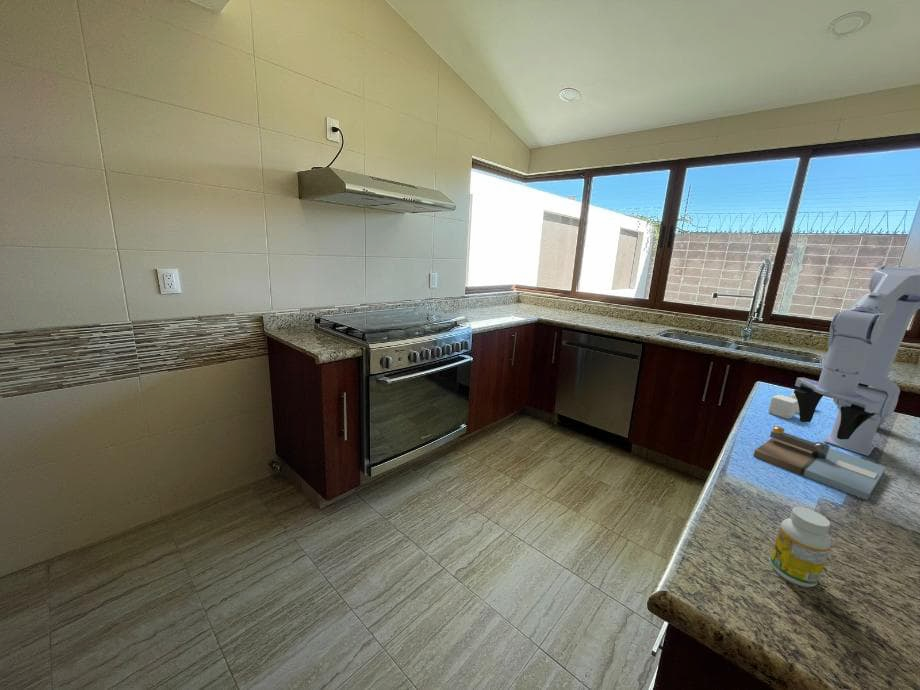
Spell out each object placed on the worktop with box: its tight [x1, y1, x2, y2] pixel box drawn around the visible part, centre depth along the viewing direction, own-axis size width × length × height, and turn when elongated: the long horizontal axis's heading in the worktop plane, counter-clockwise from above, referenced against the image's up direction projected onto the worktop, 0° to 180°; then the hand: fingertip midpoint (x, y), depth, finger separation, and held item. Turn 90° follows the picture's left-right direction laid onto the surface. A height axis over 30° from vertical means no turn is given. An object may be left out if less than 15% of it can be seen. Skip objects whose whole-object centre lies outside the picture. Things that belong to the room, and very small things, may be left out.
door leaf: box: [802, 447, 887, 501], centre depth 81 cm, size 18×10×2 cm, turn 125°
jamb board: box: [753, 437, 818, 476], centre depth 88 cm, size 18×9×2 cm, turn 125°
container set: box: [768, 392, 799, 420], centre depth 115 cm, size 20×5×6 cm, turn 122°
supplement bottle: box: [769, 506, 832, 588], centre depth 54 cm, size 5×5×10 cm
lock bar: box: [769, 425, 831, 458], centre depth 88 cm, size 10×2×3 cm, turn 35°
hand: (822, 429), depth 81 cm, fingers open, 7 cm apart
